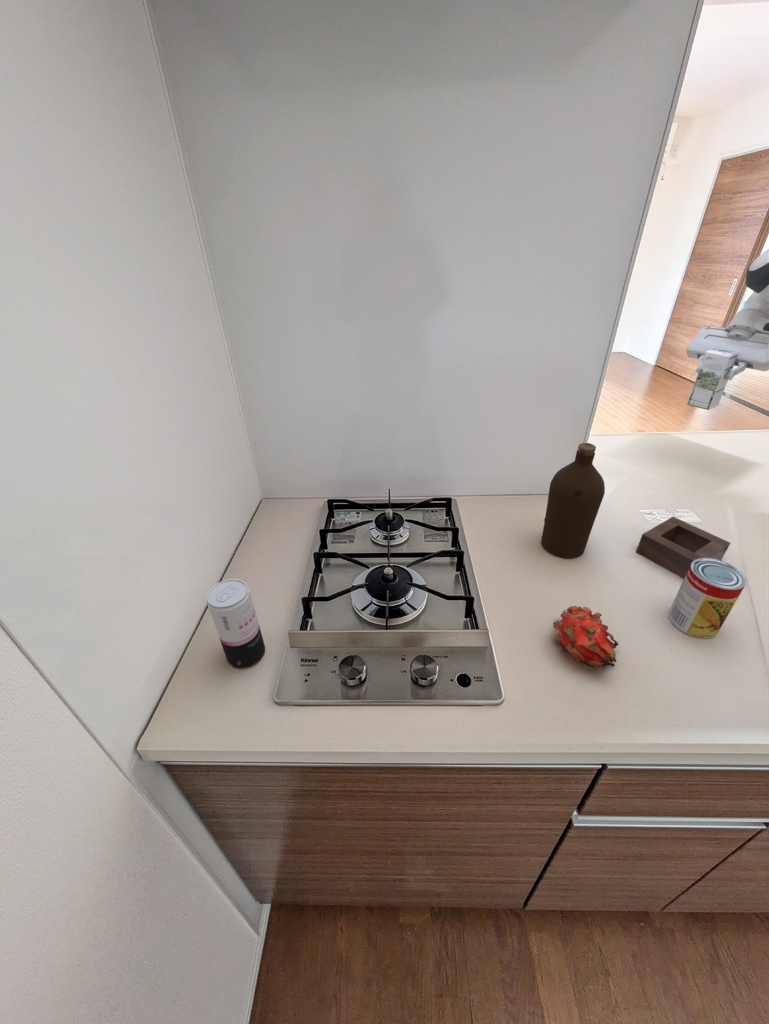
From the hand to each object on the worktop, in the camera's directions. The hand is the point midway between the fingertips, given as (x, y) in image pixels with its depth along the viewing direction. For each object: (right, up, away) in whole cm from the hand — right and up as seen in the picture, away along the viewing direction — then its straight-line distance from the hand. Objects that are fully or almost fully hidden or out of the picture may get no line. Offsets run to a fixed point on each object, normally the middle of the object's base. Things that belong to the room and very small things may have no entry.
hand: (712, 375), depth 115 cm
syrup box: (+1, -7, +5) cm, 9 cm away
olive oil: (-46, -44, -15) cm, 65 cm away
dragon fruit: (-52, -60, -39) cm, 89 cm away
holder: (-22, -46, -19) cm, 55 cm away
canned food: (-30, -56, -35) cm, 73 cm away
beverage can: (-111, -61, -38) cm, 132 cm away
